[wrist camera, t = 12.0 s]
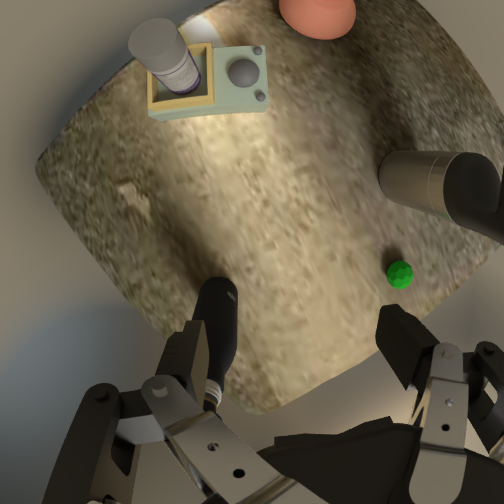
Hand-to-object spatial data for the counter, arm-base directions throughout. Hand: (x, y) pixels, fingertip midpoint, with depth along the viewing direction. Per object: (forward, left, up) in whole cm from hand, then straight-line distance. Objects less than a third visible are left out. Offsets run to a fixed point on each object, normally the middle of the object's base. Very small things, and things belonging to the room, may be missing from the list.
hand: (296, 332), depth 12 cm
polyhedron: (-25, +12, -33) cm, 43 cm away
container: (+9, -19, -27) cm, 35 cm away
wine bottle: (+7, +14, -33) cm, 37 cm away
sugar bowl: (-12, -34, -33) cm, 49 cm away
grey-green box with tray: (+6, -19, -33) cm, 39 cm away
